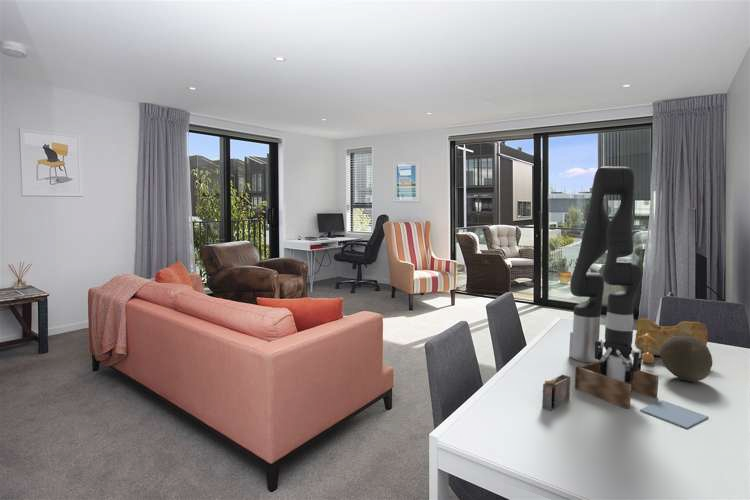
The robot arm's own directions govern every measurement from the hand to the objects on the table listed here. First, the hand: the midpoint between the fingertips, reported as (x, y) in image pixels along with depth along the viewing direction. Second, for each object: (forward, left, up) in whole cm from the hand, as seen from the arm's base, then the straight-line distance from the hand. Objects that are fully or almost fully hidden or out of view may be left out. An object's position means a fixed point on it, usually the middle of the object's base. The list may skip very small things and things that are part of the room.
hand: (615, 378), depth 140 cm
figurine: (-9, +35, -5) cm, 36 cm away
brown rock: (+6, +30, -5) cm, 31 cm away
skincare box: (0, 0, -5) cm, 5 cm away
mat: (+17, 0, -5) cm, 18 cm away
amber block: (-10, +54, -5) cm, 55 cm away
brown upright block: (-4, -23, -5) cm, 24 cm away
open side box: (0, 0, -5) cm, 5 cm away
